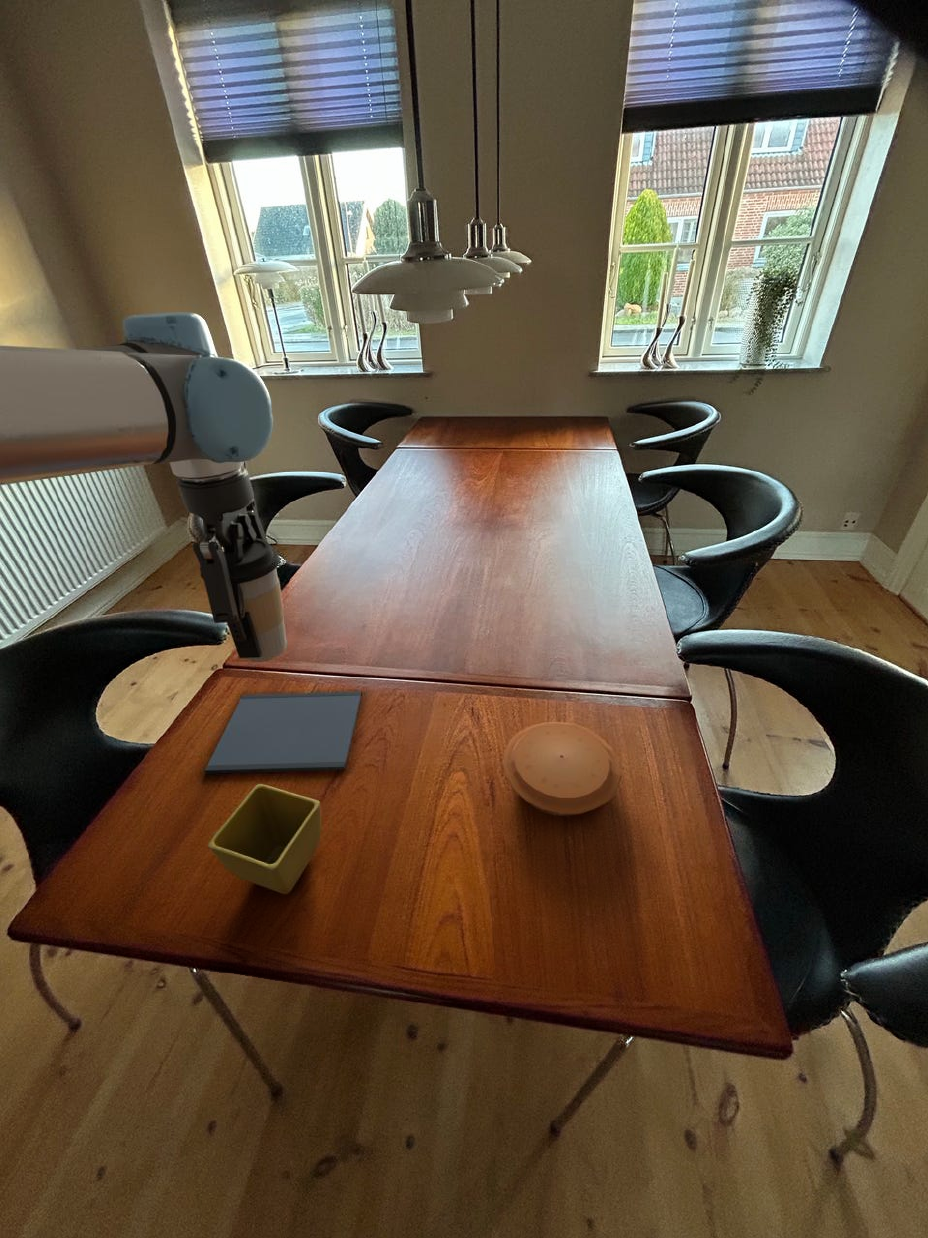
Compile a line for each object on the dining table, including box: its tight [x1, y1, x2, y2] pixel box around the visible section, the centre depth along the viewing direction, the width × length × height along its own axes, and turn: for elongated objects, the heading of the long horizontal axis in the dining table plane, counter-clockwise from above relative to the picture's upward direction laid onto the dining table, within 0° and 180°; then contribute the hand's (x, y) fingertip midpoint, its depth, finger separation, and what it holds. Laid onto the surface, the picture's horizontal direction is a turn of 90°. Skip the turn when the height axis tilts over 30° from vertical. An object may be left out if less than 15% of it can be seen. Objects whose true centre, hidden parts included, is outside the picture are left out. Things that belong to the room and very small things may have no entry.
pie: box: [501, 721, 623, 817], centre depth 71 cm, size 16×16×5 cm
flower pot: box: [207, 783, 323, 895], centre depth 61 cm, size 9×9×9 cm
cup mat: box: [204, 690, 363, 774], centre depth 82 cm, size 20×16×1 cm
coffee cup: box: [199, 538, 288, 663], centre depth 69 cm, size 9×9×15 cm
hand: (261, 635), depth 72 cm, fingers closed on coffee cup, 8 cm apart
